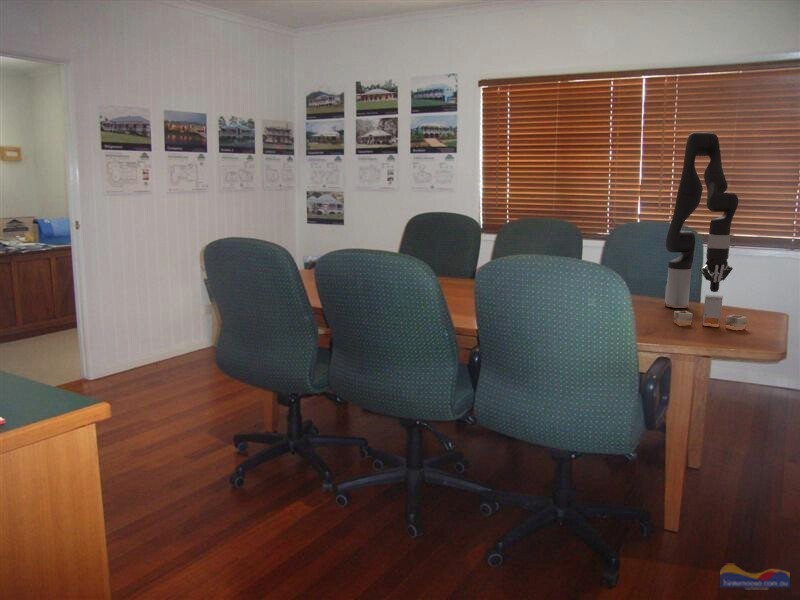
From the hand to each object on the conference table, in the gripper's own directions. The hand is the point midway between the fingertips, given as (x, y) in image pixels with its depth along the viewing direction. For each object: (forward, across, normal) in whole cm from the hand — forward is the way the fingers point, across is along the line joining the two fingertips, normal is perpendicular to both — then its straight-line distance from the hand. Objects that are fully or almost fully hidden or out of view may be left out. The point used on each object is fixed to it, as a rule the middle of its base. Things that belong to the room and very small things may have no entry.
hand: (714, 291), depth 255 cm
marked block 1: (+14, +9, -5) cm, 17 cm away
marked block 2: (+14, -6, +6) cm, 16 cm away
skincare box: (+14, 0, 0) cm, 14 cm away
